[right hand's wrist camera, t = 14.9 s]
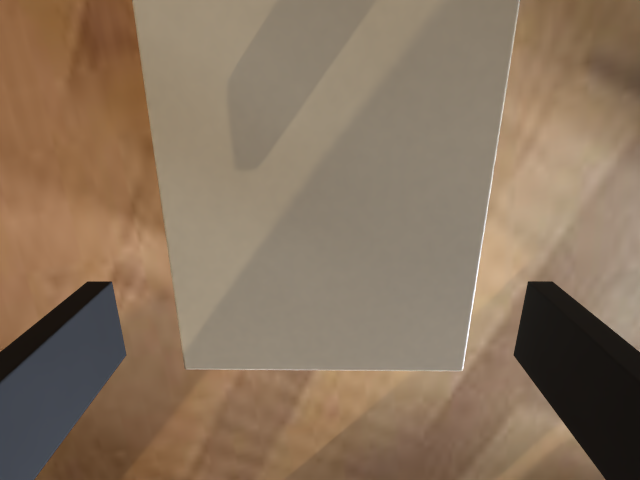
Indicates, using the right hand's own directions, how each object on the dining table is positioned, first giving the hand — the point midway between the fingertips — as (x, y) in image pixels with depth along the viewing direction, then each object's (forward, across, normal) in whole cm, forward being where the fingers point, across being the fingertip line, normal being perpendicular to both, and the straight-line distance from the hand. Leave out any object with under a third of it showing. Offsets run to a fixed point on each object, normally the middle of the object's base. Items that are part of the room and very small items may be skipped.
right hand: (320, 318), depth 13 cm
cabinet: (+12, 0, -6) cm, 13 cm away
